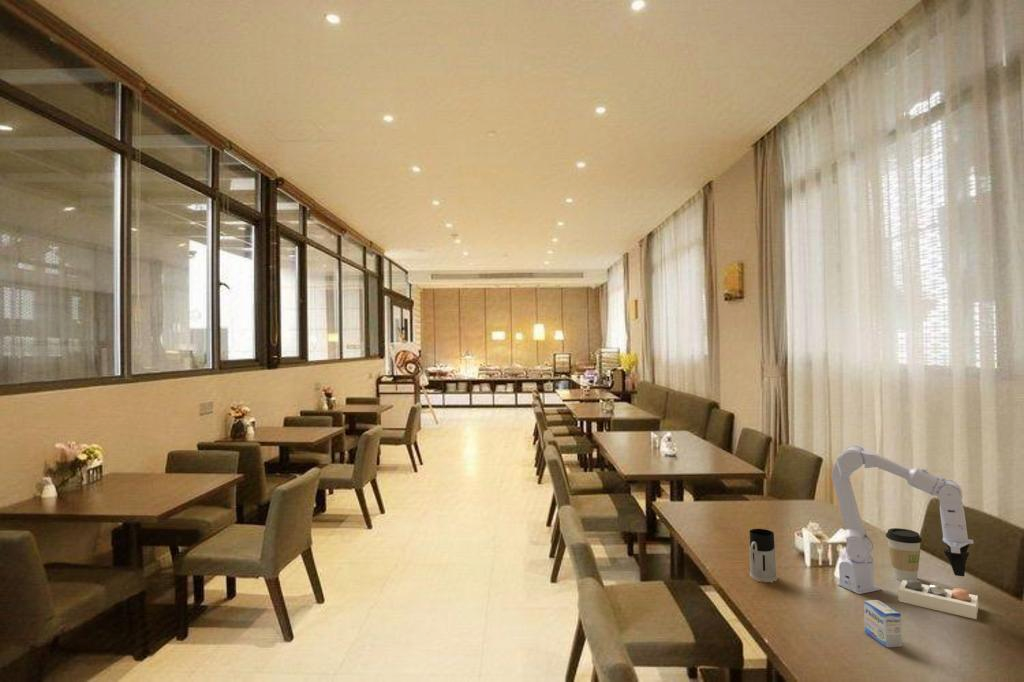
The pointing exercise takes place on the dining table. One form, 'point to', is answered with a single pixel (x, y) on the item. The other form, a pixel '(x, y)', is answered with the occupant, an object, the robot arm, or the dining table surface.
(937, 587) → the grey rock
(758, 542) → the glass holder
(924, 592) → the cream rectangular tray
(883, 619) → the medicine box
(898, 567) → the coffee cup
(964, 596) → the tan rounded lump
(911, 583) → the grey stone
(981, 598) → the dining table surface
